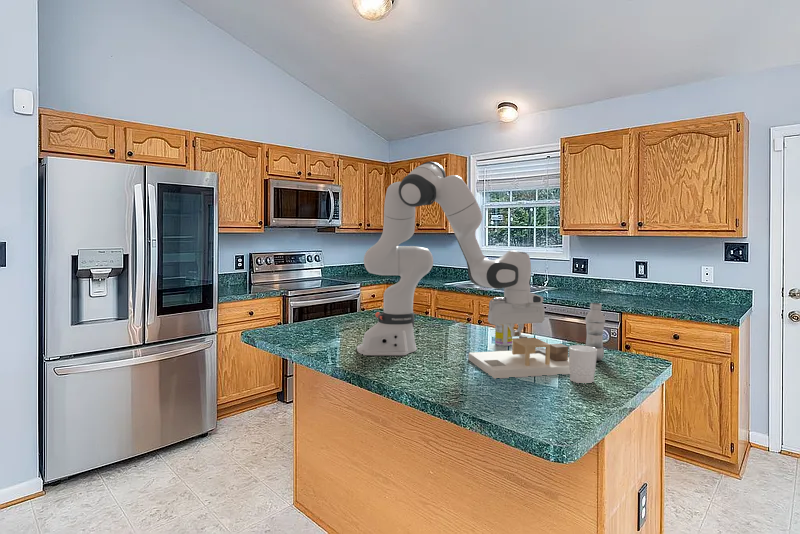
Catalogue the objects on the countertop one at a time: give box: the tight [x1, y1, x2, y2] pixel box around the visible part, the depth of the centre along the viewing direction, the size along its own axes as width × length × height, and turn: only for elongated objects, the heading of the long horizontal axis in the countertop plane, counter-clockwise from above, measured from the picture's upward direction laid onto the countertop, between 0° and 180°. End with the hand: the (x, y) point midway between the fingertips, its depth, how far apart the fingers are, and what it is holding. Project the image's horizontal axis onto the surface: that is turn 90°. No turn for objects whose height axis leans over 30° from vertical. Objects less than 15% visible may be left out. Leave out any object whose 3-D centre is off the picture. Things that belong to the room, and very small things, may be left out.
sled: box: [518, 334, 569, 361], centre depth 162 cm, size 10×15×6 cm
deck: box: [468, 337, 570, 380], centre depth 158 cm, size 31×22×9 cm
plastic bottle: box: [585, 302, 606, 362], centre depth 166 cm, size 6×7×20 cm
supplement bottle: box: [494, 324, 513, 347], centre depth 189 cm, size 7×7×13 cm
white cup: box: [568, 344, 597, 385], centre depth 143 cm, size 8×8×10 cm
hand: (515, 336), depth 167 cm, fingers closed
